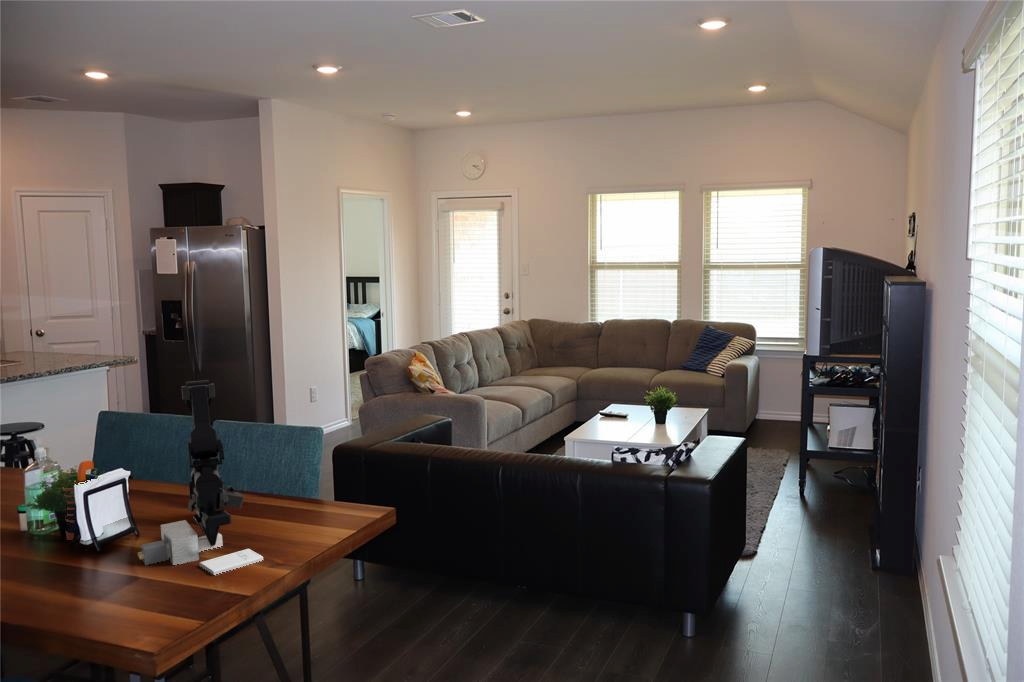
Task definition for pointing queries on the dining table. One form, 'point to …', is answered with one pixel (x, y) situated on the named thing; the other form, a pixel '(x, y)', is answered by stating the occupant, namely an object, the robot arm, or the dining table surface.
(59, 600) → the dining table surface
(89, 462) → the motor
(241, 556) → the external hard drive
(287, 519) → the dining table surface
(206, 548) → the cable plug
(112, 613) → the dining table surface
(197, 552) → the block
